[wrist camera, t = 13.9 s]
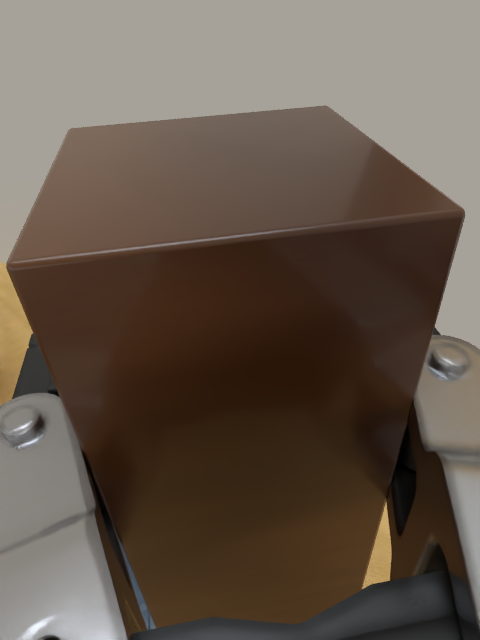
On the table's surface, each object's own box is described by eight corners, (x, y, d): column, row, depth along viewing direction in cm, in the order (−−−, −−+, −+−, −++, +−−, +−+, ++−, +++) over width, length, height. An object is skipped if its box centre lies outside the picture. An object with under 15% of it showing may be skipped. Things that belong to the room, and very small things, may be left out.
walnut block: (171, 669, 11) (1, 263, 4) (164, 499, 14) (67, 127, 7) (351, 630, 11) (470, 208, 4) (302, 475, 15) (328, 104, 8)
